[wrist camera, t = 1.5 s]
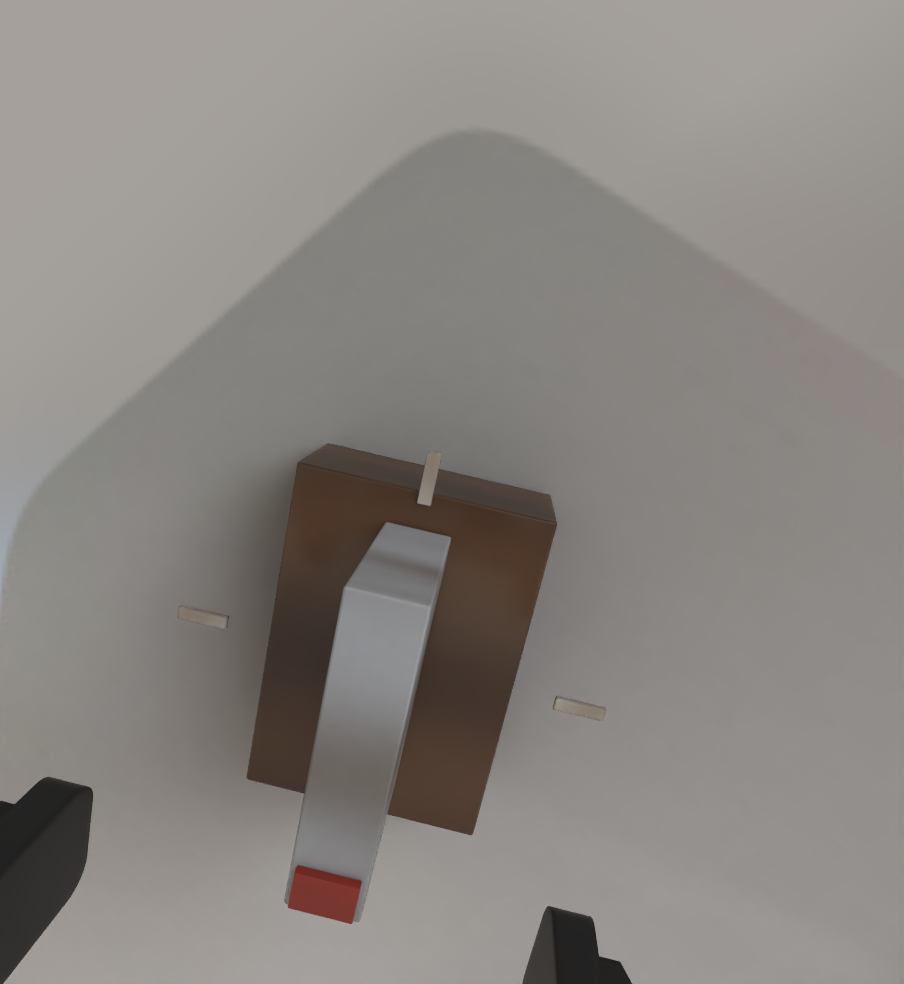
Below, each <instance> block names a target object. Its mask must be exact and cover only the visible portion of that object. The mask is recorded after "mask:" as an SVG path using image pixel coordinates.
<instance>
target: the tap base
mask: <svg viewBox="0 0 904 984" xmlns="http://www.w3.org/2000/svg"><path fill="white" fill-rule="evenodd" d="M441 456H442V454H441V453H437V452H432V451H428V453H427V458H426V463H425V466H423V465H419V464H414V463H410V462H406V461H401V460H397V459H393V458H389V457H384V456H380V455H376V454H371V453H367V452H363V451H359V450H354V449H350V448H346V447H341V446H337V445H333V444H326V445H325V446H323V447H322V448H320V449H319V450H317V451H315V452H314V453H312V454H311V455H309V456H308V457H306V458H305V459H303V460H301V461H300V462H298V464H297V470H296V476H295V482H294V488H293V494H292V500H291V507H290V513H289V519H288V525H287V531H286V538H285V544H284V550H283V556H282V562H281V568H280V575H279V581H278V587H277V593H276V599H275V605H274V612H273V618H272V624H271V630H270V636H269V642H268V649H267V655H266V661H265V667H264V673H263V679H262V686H261V692H260V698H259V704H258V710H257V717H256V723H255V729H254V735H253V741H252V747H251V754H250V760H249V766H248V772H247V779H248V780H252V781H256V782H260V783H264V784H268V785H272V786H276V787H280V788H284V789H288V790H292V791H296V792H300V793H304V794H305V788H306V783H307V778H308V773H309V767H310V762H311V757H312V752H313V746H314V741H315V736H316V730H317V725H318V720H319V715H320V709H321V704H322V699H323V694H324V688H325V683H326V678H327V672H328V667H329V662H330V657H331V651H332V646H333V641H334V636H335V630H336V625H337V620H338V614H339V609H340V604H341V599H342V593H343V588H344V587H345V585H346V584H347V582H348V580H349V579H350V577H351V576H352V574H353V573H354V571H355V570H356V568H357V566H358V565H359V563H360V562H361V560H362V559H363V557H364V555H365V554H366V552H367V551H368V549H369V548H370V546H371V545H372V543H373V541H374V540H375V538H376V537H377V535H378V534H379V532H380V530H381V529H382V527H383V526H384V524H385V523H386V522H389V523H393V524H397V525H402V526H406V527H410V528H414V529H419V530H423V531H427V532H431V533H436V534H440V535H444V536H448V537H450V538H451V542H450V547H449V551H448V555H447V560H446V564H445V568H444V573H443V577H442V581H441V586H440V590H439V594H438V599H437V603H436V607H435V612H434V616H433V620H432V625H431V629H430V633H429V638H428V642H427V647H426V651H425V655H424V660H423V664H422V668H421V673H420V677H419V681H418V686H417V690H416V694H415V699H414V703H413V707H412V712H411V716H410V720H409V725H408V729H407V733H406V738H405V742H404V747H403V751H402V755H401V760H400V764H399V768H398V773H397V777H396V781H395V786H394V790H393V794H392V798H391V802H390V806H389V809H388V813H387V814H388V815H392V816H396V817H400V818H404V819H408V820H412V821H416V822H420V823H424V824H428V825H432V826H436V827H440V828H444V829H448V830H452V831H456V832H460V833H464V834H468V835H472V834H473V832H474V828H475V825H476V821H477V817H478V814H479V810H480V806H481V803H482V799H483V795H484V792H485V788H486V784H487V781H488V777H489V773H490V770H491V766H492V762H493V758H494V755H495V751H496V747H497V744H498V740H499V736H500V733H501V729H502V725H503V722H504V718H505V714H506V711H507V707H508V703H509V700H510V696H511V692H512V689H513V685H514V681H515V678H516V674H517V670H518V666H519V663H520V659H521V655H522V652H523V648H524V644H525V641H526V637H527V633H528V630H529V626H530V622H531V619H532V615H533V611H534V608H535V604H536V600H537V597H538V593H539V589H540V586H541V582H542V578H543V575H544V571H545V567H546V563H547V560H548V556H549V552H550V549H551V545H552V541H553V538H554V534H555V530H556V527H557V522H556V518H555V513H554V509H553V505H552V500H551V496H550V495H547V494H543V493H539V492H534V491H530V490H526V489H521V488H517V487H513V486H509V485H504V484H500V483H496V482H491V481H487V480H483V479H479V478H474V477H470V476H466V475H461V474H457V473H453V472H449V471H444V470H440V469H439V466H440V461H441ZM178 618H180V619H184V620H188V621H192V622H196V623H200V624H204V625H209V626H213V627H217V628H221V629H226V628H227V627H228V620H229V616H226V615H222V614H218V613H214V612H210V611H205V610H201V609H197V608H193V607H189V606H185V605H181V606H179V611H178ZM553 709H554V710H558V711H562V712H566V713H570V714H575V715H579V716H583V717H587V718H591V719H595V720H599V721H603V719H604V716H605V713H606V708H605V707H601V706H597V705H593V704H589V703H585V702H581V701H577V700H572V699H568V698H564V697H560V696H556V698H555V701H554V705H553Z"/></svg>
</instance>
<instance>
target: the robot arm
mask: <svg viewBox="0 0 904 984" xmlns="http://www.w3.org/2000/svg"><path fill="white" fill-rule="evenodd" d="M92 802H93V791H92V789H91V788H90V787H87V786H83V785H79V784H75V783H71V782H67V781H63V780H59V779H55V778H51V777H46V778H43V779H42V780H40V781H39V782H38V783H37V784H36V785H35V786H33V787H32V788H31V789H30V790H29V791H28V792H27V793H26V794H25V795H24V796H23V797H22V798H21V799H20V800H19V801H18V802H17V803H16V804H11V803H7V802H3V801H0V984H3V983H4V982H5V981H6V979H7V978H8V977H9V975H10V974H11V973H12V972H13V970H14V969H15V968H16V966H17V965H18V964H19V963H20V961H21V960H22V959H23V957H24V956H25V955H26V954H27V952H28V951H29V950H30V948H31V947H32V946H33V945H34V943H35V942H36V941H37V940H38V938H39V937H40V936H41V934H42V933H43V932H44V931H45V929H46V928H47V927H48V925H49V924H50V923H51V922H52V920H53V919H54V918H55V916H56V915H57V914H58V913H59V911H60V910H61V909H62V907H63V906H64V905H65V904H66V902H67V901H68V900H69V898H70V897H71V895H72V894H73V892H74V890H75V888H76V887H77V885H78V883H79V880H80V878H81V876H82V873H83V871H84V867H85V864H86V859H87V851H88V841H89V832H90V822H91V812H92ZM523 984H632V983H631V981H630V979H629V977H628V975H627V974H626V972H625V970H624V968H623V966H622V964H621V963H620V962H619V961H615V960H611V959H607V958H603V957H599V954H598V947H597V940H596V933H595V926H594V922H593V919H592V918H591V917H590V916H586V915H582V914H578V913H574V912H570V911H566V910H562V909H558V908H554V907H550V906H548V907H547V908H546V909H545V912H544V914H543V917H542V921H541V924H540V927H539V930H538V933H537V936H536V940H535V943H534V946H533V949H532V952H531V955H530V959H529V962H528V965H527V968H526V971H525V975H524V979H523Z"/></svg>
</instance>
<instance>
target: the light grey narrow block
mask: <svg viewBox="0 0 904 984" xmlns="http://www.w3.org/2000/svg"><path fill="white" fill-rule="evenodd" d="M450 542H451V538H450V537H448V536H444V535H440V534H436V533H431V532H427V531H423V530H419V529H414V528H410V527H406V526H402V525H397V524H393V523H389V522H386V523H385V524H384V526H383V527H382V529H381V530H380V532H379V534H378V535H377V537H376V538H375V540H374V541H373V543H372V545H371V546H370V548H369V549H368V551H367V552H366V554H365V555H364V557H363V559H362V560H361V562H360V563H359V565H358V566H357V568H356V570H355V571H354V573H353V574H352V576H351V577H350V579H349V580H348V582H347V584H346V585H345V587H344V588H343V593H342V599H341V604H340V609H339V614H338V620H337V625H336V630H335V636H334V641H333V646H332V651H331V657H330V662H329V667H328V672H327V678H326V683H325V688H324V694H323V699H322V704H321V709H320V715H319V720H318V725H317V730H316V736H315V741H314V746H313V752H312V757H311V762H310V767H309V773H308V778H307V783H306V788H305V794H304V799H303V804H302V810H301V815H300V820H299V825H298V831H297V836H296V841H295V846H294V852H293V857H292V862H291V868H290V873H289V878H288V883H287V889H286V894H285V899H284V901H285V903H286V904H288V908H291V909H294V910H298V911H302V912H306V913H310V914H314V915H318V916H322V917H326V918H330V919H334V920H338V921H341V922H345V923H349V924H352V923H353V921H355V922H359V921H360V919H361V916H362V912H363V908H364V904H365V900H366V896H367V892H368V888H369V884H370V880H371V876H372V872H373V868H374V865H375V861H376V857H377V853H378V849H379V845H380V841H381V837H382V833H383V829H384V825H385V821H386V817H387V813H388V809H389V806H390V802H391V798H392V794H393V790H394V786H395V781H396V777H397V773H398V768H399V764H400V760H401V755H402V751H403V747H404V742H405V738H406V733H407V729H408V725H409V720H410V716H411V712H412V707H413V703H414V699H415V694H416V690H417V686H418V681H419V677H420V673H421V668H422V664H423V660H424V655H425V651H426V647H427V642H428V638H429V633H430V629H431V625H432V620H433V616H434V612H435V607H436V603H437V599H438V594H439V590H440V586H441V581H442V577H443V573H444V568H445V564H446V560H447V555H448V551H449V547H450Z"/></svg>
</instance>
